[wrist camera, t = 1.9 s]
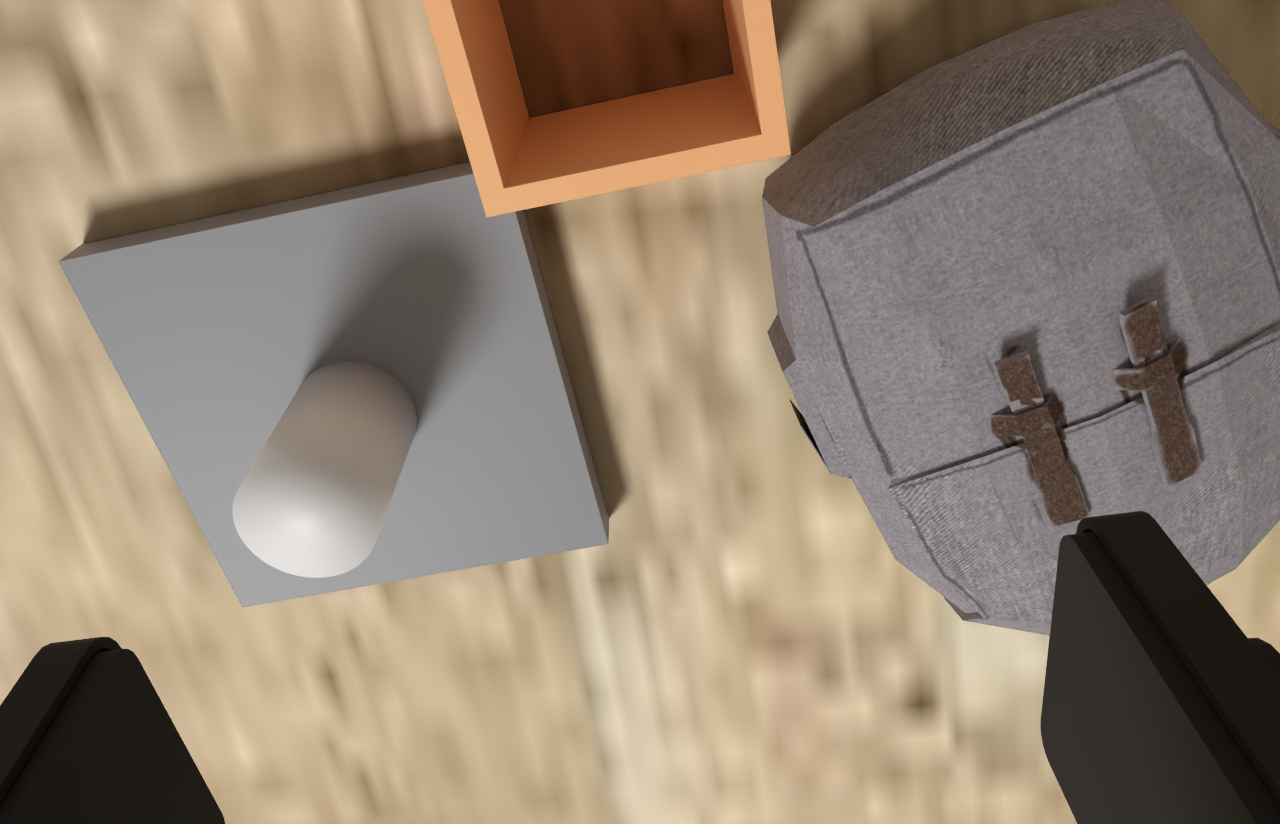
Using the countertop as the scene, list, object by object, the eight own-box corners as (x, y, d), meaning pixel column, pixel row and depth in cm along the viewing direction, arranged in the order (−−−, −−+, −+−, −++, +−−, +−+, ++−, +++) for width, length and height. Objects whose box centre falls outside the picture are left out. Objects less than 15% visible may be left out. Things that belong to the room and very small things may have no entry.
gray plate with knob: (508, 153, 30) (475, 239, 24) (608, 519, 37) (604, 663, 31) (82, 244, 31) (-61, 348, 25) (255, 581, 38) (179, 732, 32)
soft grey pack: (683, 168, 31) (904, 607, 40) (700, 269, 23) (965, 778, 32) (1174, -82, 27) (1294, 459, 36) (1370, -55, 20) (1460, 612, 29)
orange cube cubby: (715, -198, 26) (742, -210, 20) (757, 90, 29) (790, 154, 23) (441, -132, 26) (385, -123, 20) (515, 141, 30) (486, 217, 24)
